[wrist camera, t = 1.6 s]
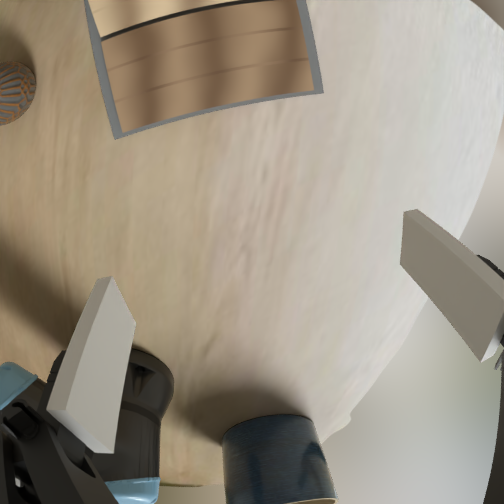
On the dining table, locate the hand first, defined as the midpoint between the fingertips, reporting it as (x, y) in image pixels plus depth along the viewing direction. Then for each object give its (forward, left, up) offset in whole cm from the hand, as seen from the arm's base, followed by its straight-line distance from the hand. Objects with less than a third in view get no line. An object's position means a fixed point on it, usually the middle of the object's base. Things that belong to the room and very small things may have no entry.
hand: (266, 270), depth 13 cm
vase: (-21, +15, -22) cm, 34 cm away
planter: (-5, -60, -22) cm, 64 cm away
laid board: (0, +11, -21) cm, 24 cm away
